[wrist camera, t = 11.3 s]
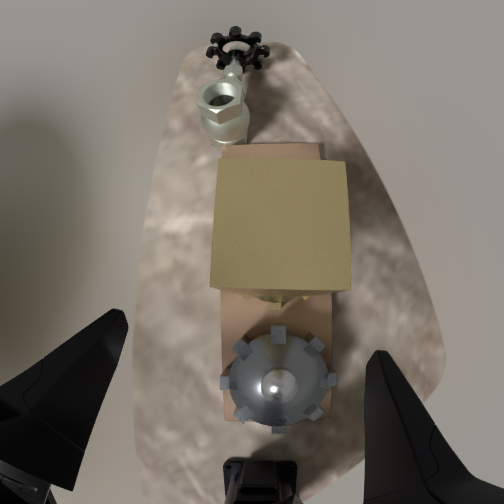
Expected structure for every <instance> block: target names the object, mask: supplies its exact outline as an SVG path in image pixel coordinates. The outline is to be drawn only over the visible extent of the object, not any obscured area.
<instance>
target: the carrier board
mask: <svg viewBox="0 0 504 504" xmlns="http://www.w3.org/2000/svg"><path fill="white" fill-rule="evenodd" d="M222 158H294V159H315V160H320V152H319V145H318V143H280V144H250V145H232V146H230V147H228V148H225V147H223V146H222ZM270 323H284V324H285V325H286V331H288V332H292V333H295V334H297V335H299V336H301V337H303V338H304V337H305V336H306V335H307V334H308V333H309V332H310V333H311V334H313V335H314V336H315V337H316V338H317V339H319V340H320V341H321V342H322V343H323V344H324V345H325V347H324V348H323V349H322V351H321V352H320V353H319V354H320V355H321V356H322V358H323V360H324V362H325V364H329V365H330V366H331V367H332V296H331V293H330V294H323V295H316V296H309V297H308V298H307V299H306V300H304V301H303V300H302V299H301V298H300V297H296V298H294V299H292V300H289V301H286V302H281V310H268V302H266V301H262V300H260V299H258V298H256V297H254V296H252V295H250V296H249V297H248V298H247V299H244V298H243V297H242V296H241V295H239V294H235V293H232V292H228V291H224V290H221V338H222V372H223V371H224V369H225V368H226V367H232V364H233V362H234V360H235V359H236V357H237V354H236V353H234V352H233V351H232V350H231V348H232V347H233V346H234V345H235V343H236V342H237V341H238V340H239V339H240V338H241V337H242V336H243V335H244V334H245V335H247V336H248V337H249V338H250V339H253V338H254V337H256V336H258V335H260V334H262V333H265V332H270V331H271V324H270ZM331 389H332V387H327V392H326V394H325V397H324V399H323V401H322V403H321V404H320V405H321V407H322V409H323V411H324V413H323V414H322V415H321V416H320V417H319V418H317V419H320V418H330V412H331ZM223 397H224V419H225V421H239V420H238V419H237V418H236V417H235V416H233V414H234V411H235V408H236V405H235V403H234V401H233V399H232V397H231V394H230V390H223ZM308 419H310V418H309V417H307V418H305V419H303V420H308ZM248 421H253V420H251V419H249V420H248Z"/></svg>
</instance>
